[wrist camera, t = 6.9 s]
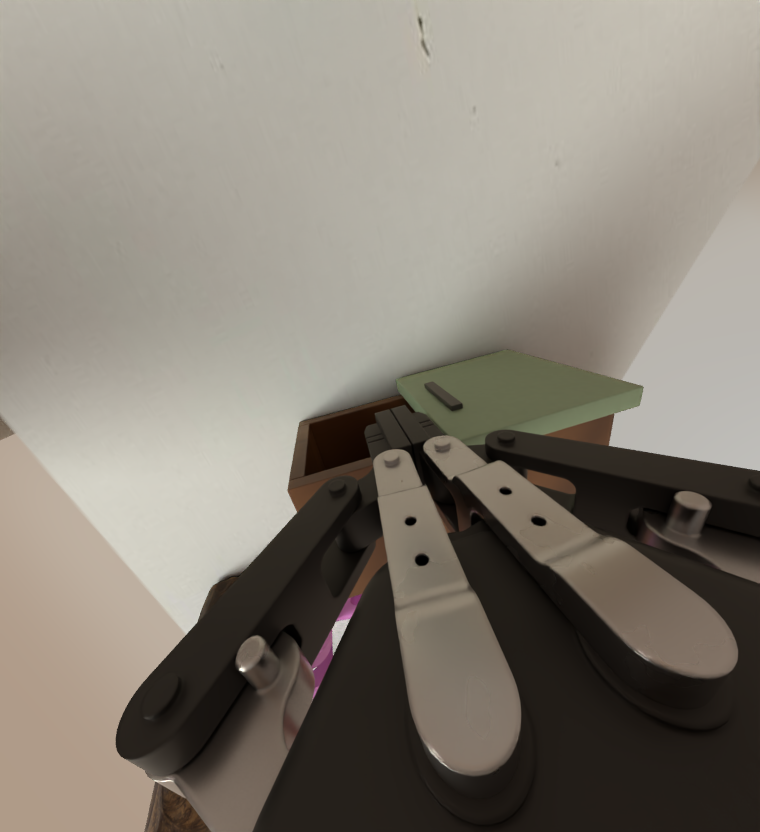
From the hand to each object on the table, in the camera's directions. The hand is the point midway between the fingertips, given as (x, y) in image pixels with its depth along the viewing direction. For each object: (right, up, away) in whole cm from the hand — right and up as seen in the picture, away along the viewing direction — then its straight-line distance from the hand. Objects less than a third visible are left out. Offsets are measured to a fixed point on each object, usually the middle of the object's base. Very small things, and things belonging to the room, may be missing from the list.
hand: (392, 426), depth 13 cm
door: (+5, +4, +8) cm, 10 cm away
